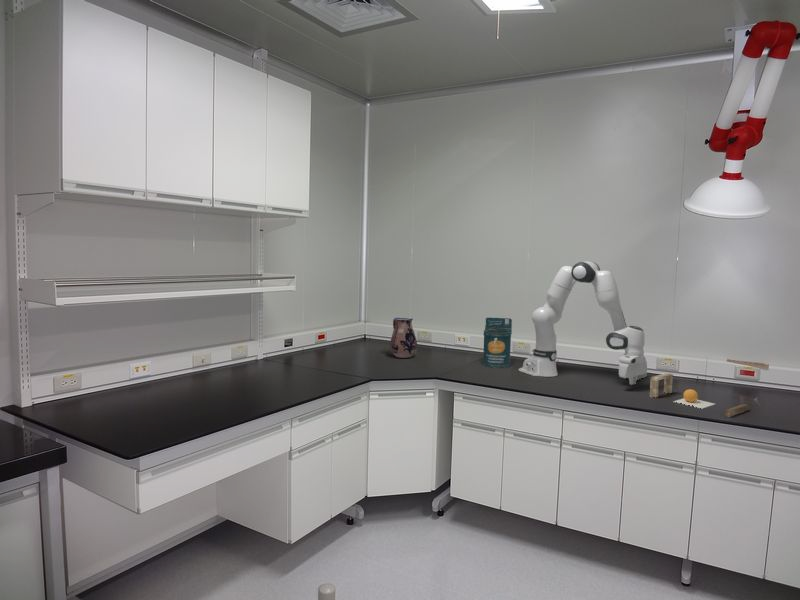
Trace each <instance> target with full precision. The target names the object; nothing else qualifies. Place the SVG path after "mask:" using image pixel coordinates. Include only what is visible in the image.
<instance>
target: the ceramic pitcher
mask: <svg viewBox="0 0 800 600" xmlns="http://www.w3.org/2000/svg"><path fill="white" fill-rule="evenodd" d="M413 320H414V319H413V317H409V318H408V317H394V318H393V320H392V327H393V331H392V333H391V334H392V335H391V338H390V343H389V344H390V345H389V346H390V350H391V352H392V354H393V355H394V356H395V357H396V358H400V359H407V358H411V357H413V356H414V355H415V354H416V351H417V350H418V341H417V337H416V334H415V330H414V328H413V324H412V322H413Z"/></svg>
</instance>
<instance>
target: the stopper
mask: <svg viewBox="0 0 800 600" xmlns="http://www.w3.org/2000/svg"><path fill="white" fill-rule="evenodd" d="M747 411H749V404H746V403H741V404H739V405H737V406H734V407H730V408H728V409H725V410H724V414H723V415H724V417H727V418H731V417H734V416H737V415H739V414H742V413H745V412H747Z"/></svg>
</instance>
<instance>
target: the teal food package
mask: <svg viewBox="0 0 800 600" xmlns="http://www.w3.org/2000/svg"><path fill="white" fill-rule="evenodd" d="M512 328H513V319H511V318H507V317H486V318H485V325H484V329H483V355H482V356H483V358H482V366H483V365H484V366H483V367H487V368H493V367H496V369H505V368H504V367H507V368H511V361H512V360H511V349H512V348H511V347H512V345H511V341H512V333H513V332H512Z"/></svg>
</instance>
